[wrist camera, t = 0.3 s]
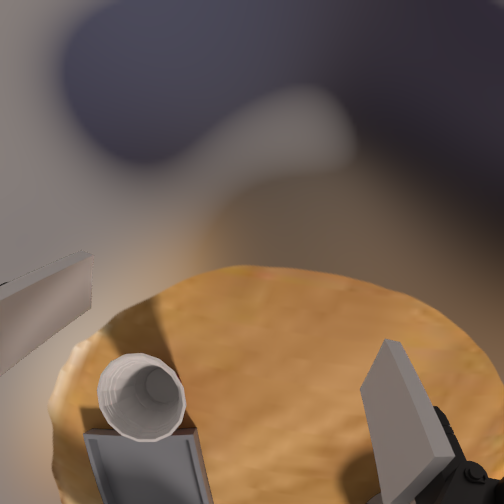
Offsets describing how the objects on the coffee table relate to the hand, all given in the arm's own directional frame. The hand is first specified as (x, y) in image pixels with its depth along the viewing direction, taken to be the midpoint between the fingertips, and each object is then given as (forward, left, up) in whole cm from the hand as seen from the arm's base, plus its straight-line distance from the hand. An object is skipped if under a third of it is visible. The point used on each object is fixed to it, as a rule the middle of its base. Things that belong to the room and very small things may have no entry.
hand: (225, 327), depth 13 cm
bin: (-23, +17, -33) cm, 44 cm away
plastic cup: (-7, +12, -33) cm, 36 cm away
